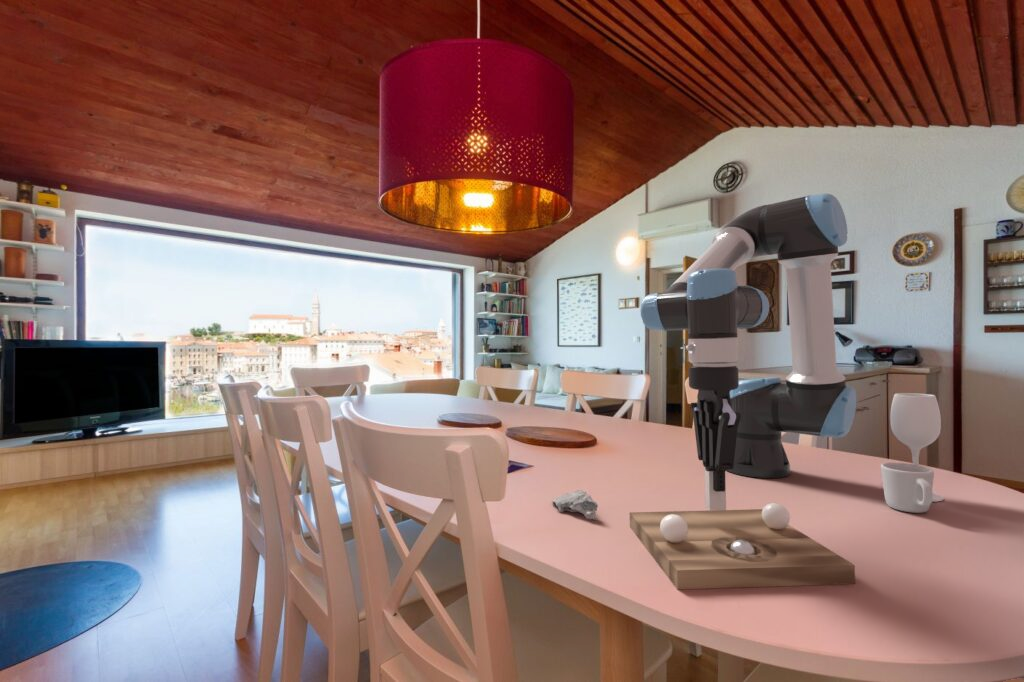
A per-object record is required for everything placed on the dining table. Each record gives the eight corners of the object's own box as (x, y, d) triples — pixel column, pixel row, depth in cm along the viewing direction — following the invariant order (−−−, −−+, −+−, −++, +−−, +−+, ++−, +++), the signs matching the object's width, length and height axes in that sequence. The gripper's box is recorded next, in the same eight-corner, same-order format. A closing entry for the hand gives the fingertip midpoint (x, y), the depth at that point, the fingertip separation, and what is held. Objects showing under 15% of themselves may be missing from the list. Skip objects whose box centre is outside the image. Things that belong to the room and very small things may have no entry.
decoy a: (756, 524, 80) (756, 499, 80) (780, 523, 80) (780, 499, 80) (770, 533, 76) (770, 508, 76) (795, 533, 76) (795, 507, 76)
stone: (566, 526, 88) (566, 503, 88) (549, 502, 100) (549, 482, 100) (600, 523, 89) (600, 501, 89) (579, 501, 101) (579, 481, 101)
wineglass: (893, 486, 108) (891, 391, 108) (945, 495, 102) (944, 394, 102) (886, 495, 102) (884, 394, 102) (941, 505, 96) (940, 397, 96)
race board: (629, 526, 86) (629, 512, 86) (763, 523, 87) (762, 509, 87) (677, 589, 64) (677, 570, 64) (855, 583, 65) (854, 564, 65)
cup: (955, 523, 86) (955, 477, 86) (904, 520, 88) (903, 475, 88) (918, 503, 97) (917, 463, 97) (872, 501, 98) (872, 461, 98)
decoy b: (656, 536, 75) (656, 510, 75) (682, 536, 75) (681, 510, 75) (665, 547, 71) (665, 520, 71) (692, 547, 71) (692, 519, 71)
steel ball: (722, 549, 73) (727, 537, 71) (744, 545, 73) (750, 533, 71) (733, 572, 70) (739, 560, 68) (756, 568, 71) (763, 556, 68)
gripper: (675, 363, 86) (677, 496, 86) (708, 367, 73) (711, 524, 73) (716, 362, 86) (719, 495, 87) (757, 366, 73) (760, 522, 74)
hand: (715, 508), depth 80 cm, fingers closed
